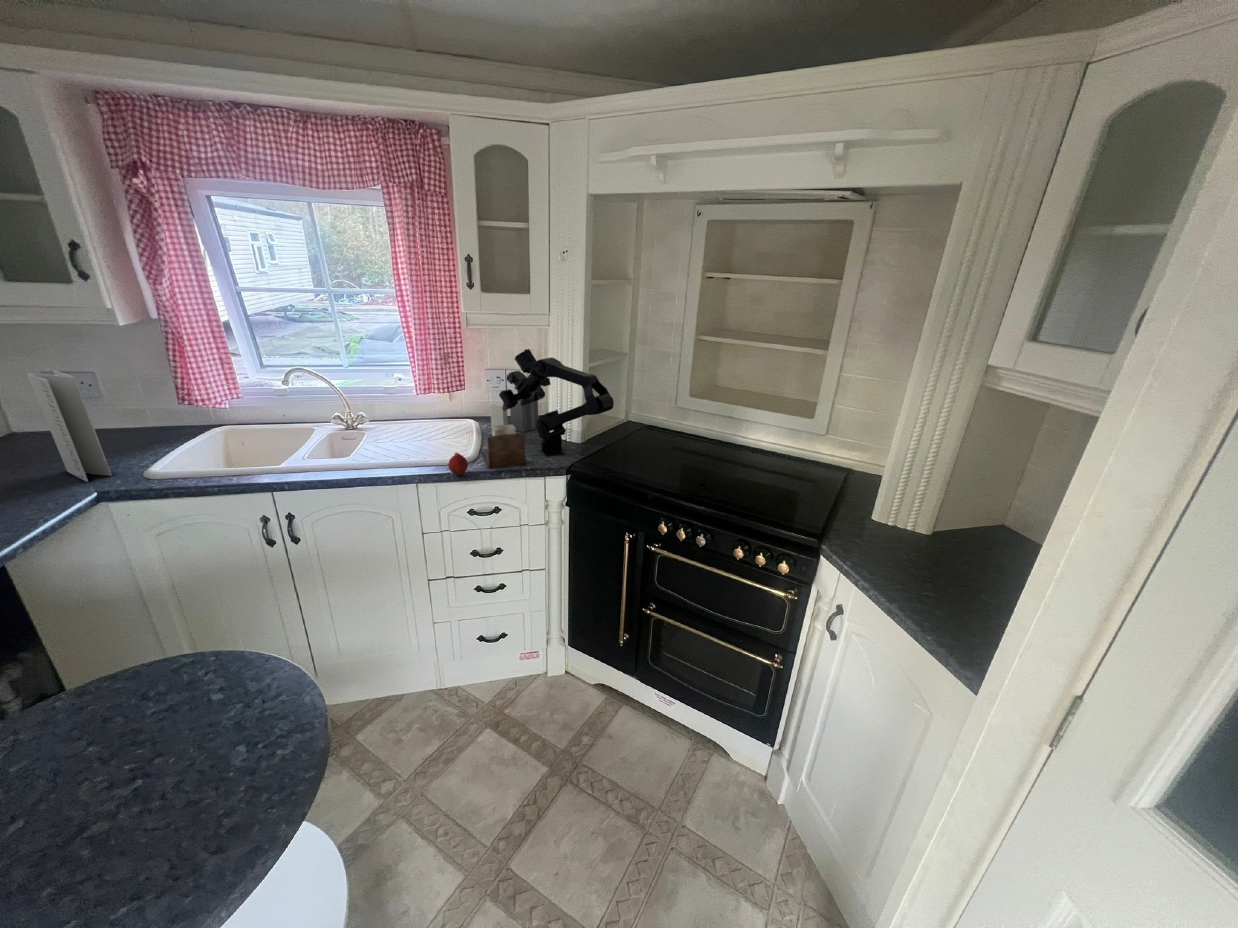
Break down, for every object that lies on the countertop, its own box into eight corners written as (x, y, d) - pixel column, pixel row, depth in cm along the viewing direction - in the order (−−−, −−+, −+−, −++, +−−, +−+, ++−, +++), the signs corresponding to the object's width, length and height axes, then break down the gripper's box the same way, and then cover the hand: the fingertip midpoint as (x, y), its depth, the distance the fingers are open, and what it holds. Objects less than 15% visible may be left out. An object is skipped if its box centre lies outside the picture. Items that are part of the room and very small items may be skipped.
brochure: (67, 471, 150) (26, 373, 139) (91, 465, 154) (54, 370, 143) (87, 481, 144) (46, 380, 133) (112, 475, 148) (74, 376, 137)
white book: (496, 433, 198) (494, 404, 193) (508, 437, 194) (506, 408, 190) (491, 435, 196) (490, 405, 191) (504, 438, 192) (502, 409, 188)
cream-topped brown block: (515, 449, 182) (514, 415, 178) (525, 464, 169) (523, 428, 164) (482, 452, 178) (480, 417, 173) (489, 468, 164) (487, 431, 160)
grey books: (526, 424, 211) (525, 395, 206) (538, 427, 207) (537, 398, 203) (510, 429, 204) (509, 399, 199) (523, 432, 200) (522, 402, 196)
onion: (460, 470, 162) (458, 447, 159) (472, 475, 159) (470, 451, 156) (445, 476, 157) (443, 452, 154) (457, 480, 154) (455, 457, 151)
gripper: (538, 361, 184) (518, 386, 194) (501, 368, 170) (481, 394, 180) (555, 385, 183) (534, 409, 193) (518, 394, 169) (497, 419, 179)
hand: (512, 407), depth 186 cm, fingers open, 9 cm apart
